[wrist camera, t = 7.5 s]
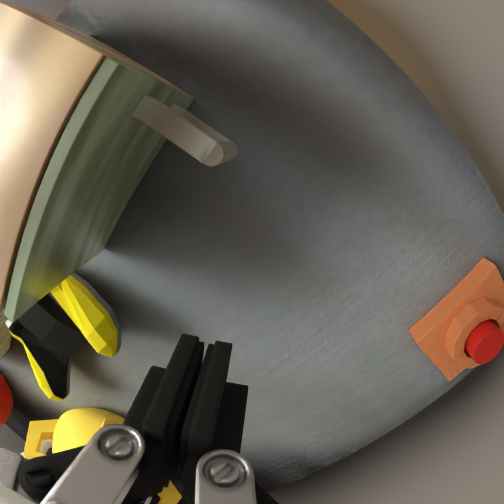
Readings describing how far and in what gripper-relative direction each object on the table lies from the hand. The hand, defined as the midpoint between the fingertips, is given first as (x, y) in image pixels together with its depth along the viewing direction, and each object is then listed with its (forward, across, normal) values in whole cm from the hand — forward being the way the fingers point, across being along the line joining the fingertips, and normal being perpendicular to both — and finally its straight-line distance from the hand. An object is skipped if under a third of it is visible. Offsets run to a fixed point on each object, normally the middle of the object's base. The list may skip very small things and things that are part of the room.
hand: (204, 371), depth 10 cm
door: (+15, +7, -2) cm, 17 cm away
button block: (+15, -22, +4) cm, 27 cm away
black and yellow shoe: (+15, +16, +12) cm, 25 cm away
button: (+12, -22, +4) cm, 25 cm away
